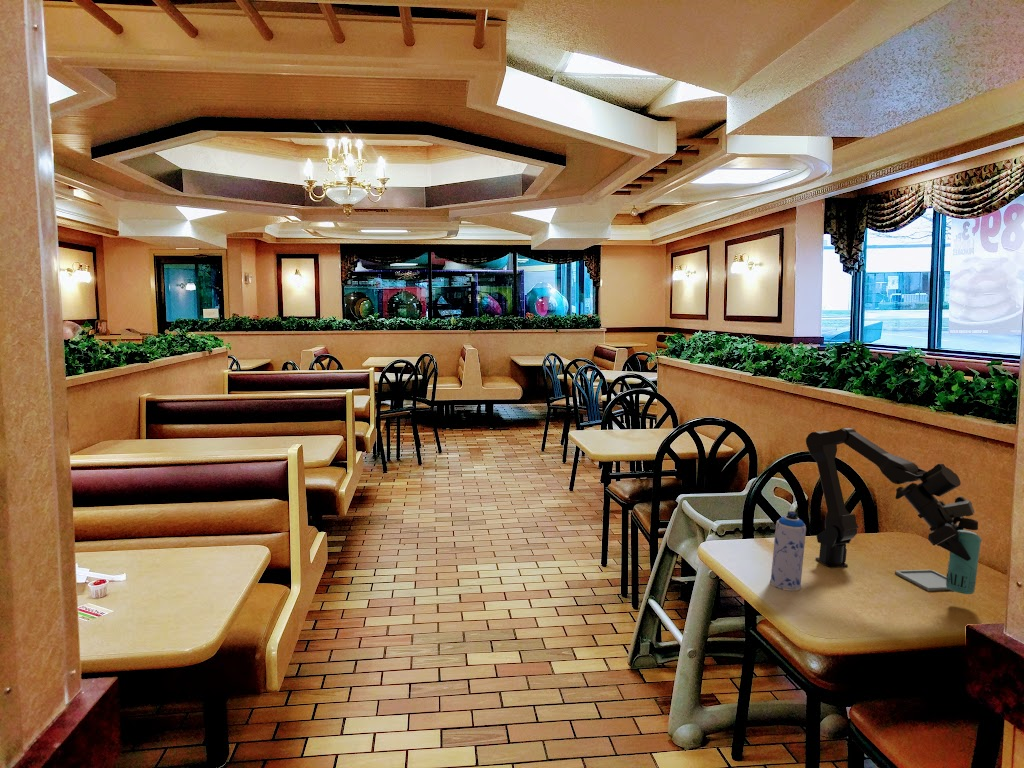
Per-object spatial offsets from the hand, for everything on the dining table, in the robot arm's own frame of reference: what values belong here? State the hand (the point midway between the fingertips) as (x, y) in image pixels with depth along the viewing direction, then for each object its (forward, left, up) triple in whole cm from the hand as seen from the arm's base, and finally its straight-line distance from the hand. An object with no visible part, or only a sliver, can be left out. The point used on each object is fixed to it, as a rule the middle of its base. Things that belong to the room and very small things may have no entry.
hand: (970, 556), depth 173 cm
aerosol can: (-40, +17, -13) cm, 45 cm away
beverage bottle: (-1, +1, -11) cm, 11 cm away
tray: (+4, +16, -13) cm, 21 cm away
